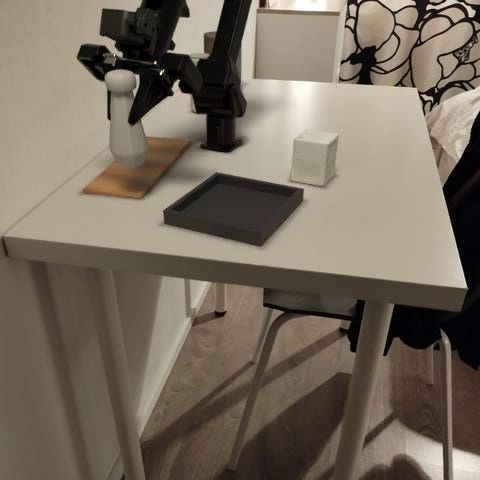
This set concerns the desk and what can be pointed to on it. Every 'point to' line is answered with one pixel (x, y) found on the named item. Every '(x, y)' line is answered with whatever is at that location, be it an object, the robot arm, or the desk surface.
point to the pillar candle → (208, 46)
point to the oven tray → (235, 208)
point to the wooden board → (138, 170)
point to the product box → (314, 157)
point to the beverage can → (195, 59)
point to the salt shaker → (125, 121)
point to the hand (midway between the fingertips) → (119, 122)
